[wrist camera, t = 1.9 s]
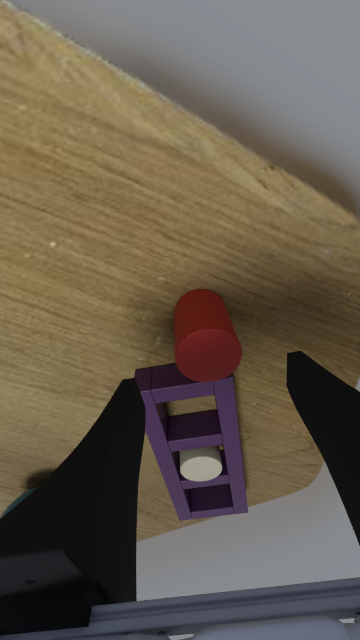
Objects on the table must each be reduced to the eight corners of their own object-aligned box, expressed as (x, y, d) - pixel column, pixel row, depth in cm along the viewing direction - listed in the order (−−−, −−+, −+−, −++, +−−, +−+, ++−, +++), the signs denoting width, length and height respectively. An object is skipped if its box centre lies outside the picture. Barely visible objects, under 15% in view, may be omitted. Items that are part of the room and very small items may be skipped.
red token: (236, 306, 19) (256, 349, 14) (204, 342, 20) (214, 391, 16) (194, 278, 17) (201, 316, 13) (163, 318, 19) (161, 364, 15)
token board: (226, 354, 21) (233, 377, 18) (242, 487, 30) (248, 512, 28) (135, 369, 21) (131, 393, 19) (179, 495, 31) (179, 521, 28)
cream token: (224, 435, 25) (231, 465, 23) (202, 454, 27) (205, 486, 24) (194, 421, 24) (196, 451, 22) (171, 442, 26) (171, 473, 23)
